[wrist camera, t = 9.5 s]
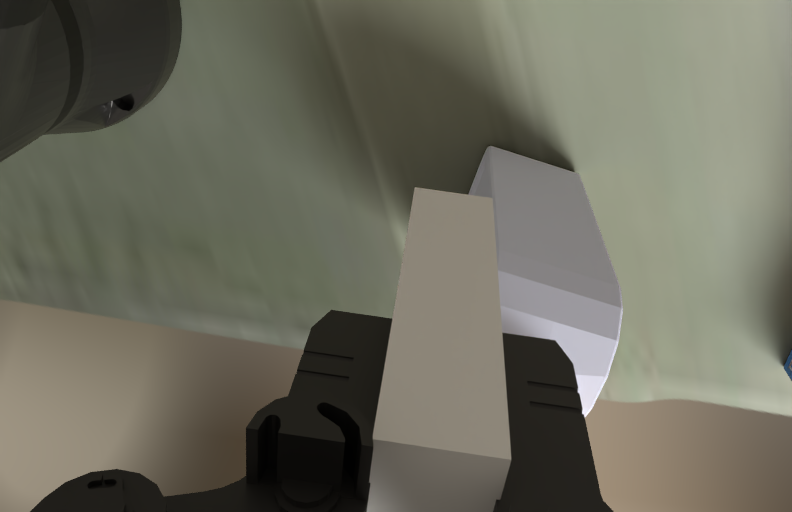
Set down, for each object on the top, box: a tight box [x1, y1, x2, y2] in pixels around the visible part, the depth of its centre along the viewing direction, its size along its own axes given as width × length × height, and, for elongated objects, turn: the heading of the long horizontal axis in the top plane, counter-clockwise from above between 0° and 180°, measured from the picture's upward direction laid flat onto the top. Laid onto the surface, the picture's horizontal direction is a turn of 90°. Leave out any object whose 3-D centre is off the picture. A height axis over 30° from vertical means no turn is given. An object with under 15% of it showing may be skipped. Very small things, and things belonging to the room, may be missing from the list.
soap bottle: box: [468, 146, 623, 418], centre depth 35 cm, size 9×7×23 cm
